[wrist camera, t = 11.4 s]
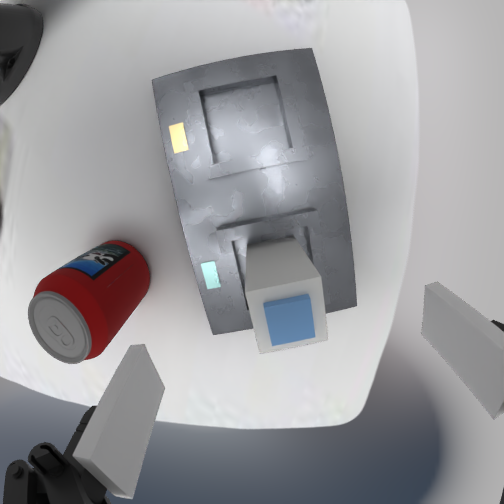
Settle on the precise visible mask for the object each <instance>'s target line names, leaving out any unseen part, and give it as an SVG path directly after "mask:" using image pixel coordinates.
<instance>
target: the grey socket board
mask: <svg viewBox="0 0 504 504" xmlns="http://www.w3.org/2000/svg"><path fill="white" fill-rule="evenodd" d="M152 84H153V90H154V96H155V102H156V107H157V113H158V118H159V124H160V129H161V134H162V139H163V144H164V149H165V154H166V159H167V163H168V168H169V173H170V177H171V182H172V186H173V190H174V195H175V199H176V203H177V207H178V211H179V216H180V220H181V224H182V228H183V232H184V235H185V239H186V243H187V247H188V251H189V254H190V258H191V262H192V266H193V269H194V273H195V276H196V280H197V283H198V287H199V290H200V294H201V297H202V301H203V304H204V307H205V311H206V314H207V317H208V321H209V324H210V327H211V330H212V333H213V335H217V334H223V333H229V332H235V331H241V330H247V329H253V324H252V320H251V315H250V311H249V307H248V303H247V299H246V294H245V276H246V249H247V244H252V243H257V242H262V241H267V240H272V239H277V238H282V237H287V236H292V235H294V237H295V238H296V240H297V241H298V243H299V244H300V246H301V247H302V249H303V250H304V251H305V253H306V254H307V256H308V257H309V259H310V260H311V262H312V263H313V265H314V266H315V268H316V269H317V271H318V273H319V274H320V276H321V279H322V287H323V295H324V304H325V313H330V312H334V311H338V310H343V309H347V308H351V307H355V306H357V299H356V284H355V272H354V261H353V252H352V242H351V234H350V226H349V218H348V211H347V204H346V197H345V191H344V185H343V179H342V173H341V167H340V162H339V157H338V151H337V146H336V141H335V137H334V132H333V127H332V123H331V118H330V114H329V110H328V106H327V101H326V97H325V93H324V90H323V86H322V82H321V78H320V75H319V71H318V67H317V64H316V60H315V57H314V54H313V50H312V48H306V49H294V50H285V51H276V52H269V53H262V54H255V55H249V56H243V57H238V58H233V59H228V60H223V61H218V62H214V63H210V64H206V65H201V66H197V67H194V68H190V69H186V70H183V71H179V72H176V73H172V74H169V75H166V76H163V77H160V78H156V79H153V80H152Z"/></svg>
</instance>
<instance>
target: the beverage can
mask: <svg viewBox="0 0 504 504" xmlns="http://www.w3.org/2000/svg"><path fill="white" fill-rule="evenodd" d="M149 283H150V274H149V269H148V266H147V264H146V262H145V260H144V258H143V257H142V255H141V254H140V253H139V252H138V251H137V250H136V249H135V248H134V247H132V246H131V245H129V244H127V243H125V242H122V241H108V242H105V243H103V244H101V245H99V246H97V247H95V248H93V249H92V250H90V251H88V252H86V253H84V254H82V255H81V256H79V257H77V258H75V259H74V260H72V261H70V262H69V263H67V264H65V265H64V266H62V267H60V268H59V269H57V270H56V271H54V272H52V273H51V274H49V275H48V276H46V277H45V278H43V279H42V280H41V281H40V282H39V284H38V286H37V288H36V290H35V293H34V296H33V299H32V300H31V302H30V304H29V308H28V319H29V324H30V327H31V330H32V332H33V334H34V336H35V338H36V339H37V341H38V342H39V344H40V345H41V346H42V347H43V349H44V350H45V351H46V352H48V353H49V354H50V355H51V356H53V357H54V358H56V359H57V360H59V361H62V362H64V363H68V364H77V363H80V362H82V361H83V360H88V359H92V358H95V357H97V356H99V355H100V354H101V353H102V352H103V351H104V350H105V348H106V347H107V346H108V344H109V343H110V342H111V340H112V339H113V338H114V336H115V335H116V334H117V332H118V331H119V330H120V328H121V327H122V326H123V324H124V323H125V322H126V320H127V319H128V318H129V316H130V315H131V314H132V312H133V311H134V310H135V308H136V307H137V306H138V304H139V303H140V302H141V300H142V299H143V298H144V296H145V295H146V293H147V291H148V288H149Z"/></svg>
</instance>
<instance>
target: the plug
mask: <svg viewBox="0 0 504 504" xmlns="http://www.w3.org/2000/svg"><path fill="white" fill-rule="evenodd" d="M245 294H246V299H247V303H248V307H249V311H250V315H251V320H252V324H253V328H254V332H255V336H256V340H257V344H258V348H259V352H260V354H263V353H268V352H274V351H279V350H284V349H289V348H294V347H299V346H304V345H308V344H313V343H317V342H322V341H326V340H328V332H327V322H326V313H325V304H324V295H323V287H322V279H321V276H320V274H319V273H318V271H317V269H316V268H315V266H314V265H313V263H312V262H311V260H310V259H309V257H308V256H307V254H306V253H305V251H304V250H303V249H302V247H301V246H300V244H299V243H298V241H297V240H296V238H295V237H294V235H292V236H287V237H282V238H277V239H272V240H267V241H262V242H257V243H252V244H247V249H246V276H245Z"/></svg>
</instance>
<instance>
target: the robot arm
mask: <svg viewBox="0 0 504 504" xmlns="http://www.w3.org/2000/svg"><path fill="white" fill-rule="evenodd" d="M42 29H43V20H42V16H41V14H40V13H39V12H38V11H37V10H35V9H34V8H32V7H30V6H29V5H25V4H17V5H11V4H1V3H0V104H2V103H3V102H4V101H5V100H6V99H7V98H8V97H9V96H10V94H11V93H12V92H13V91H14V90H15V88H16V87H17V85H18V84H19V83H20V81H21V80H22V78H23V76H24V75H25V73H26V71H27V70H28V68H29V66H30V64H31V62H32V60H33V58H34V56H35V53H36V51H37V48H38V45H39V42H40V39H41V35H42ZM421 334H422V335H423V336H424V338H425V339H426V340H427V341H428V342H429V343H430V344H431V345H432V346H433V347H434V348H435V350H436V351H437V352H438V353H439V354H440V355H441V357H442V358H443V359H444V360H445V361H446V362H447V363H448V365H449V366H450V367H451V368H452V369H453V370H454V371H455V373H456V374H457V375H458V376H459V377H460V379H461V380H462V381H463V382H464V383H465V384H466V386H467V387H468V388H469V389H470V391H471V392H472V393H473V394H474V396H475V397H476V398H477V399H478V400H479V402H480V403H481V404H482V406H483V407H484V408H485V409H486V411H487V412H488V413H489V414H490V416H491V417H492V418H493V419H494V420H495V419H496V418H497V417H499V416H500V415H502V414H503V413H504V324H502V323H500V322H497V321H495V320H492V321H489V320H488V319H487V318H485V317H484V316H483V315H482V314H481V313H479V312H478V311H477V310H475V309H474V308H473V307H471V306H470V305H469V304H467V303H466V302H465V301H463V300H462V299H461V298H459V297H458V296H457V295H455V294H454V293H452V292H451V291H450V290H448V289H447V288H446V287H444V286H443V285H441V284H440V283H439V282H435V283H431V284H429V285H425V295H424V311H423V322H422V332H421ZM164 390H165V387H164V385H163V383H162V381H161V379H160V377H159V374H158V372H157V370H156V368H155V366H154V364H153V362H152V360H151V358H150V355H149V353H148V351H147V349H146V347H145V344H140V345H131V346H130V347H129V349H128V350H127V352H126V354H125V356H124V357H123V359H122V361H121V363H120V365H119V366H118V368H117V370H116V372H115V374H114V375H113V377H112V379H111V381H110V383H109V385H108V386H107V388H106V390H105V392H104V394H103V396H102V398H101V400H100V401H99V403H98V405H97V406H92V407H91V408H90V409H89V410H88V411H87V412H86V413H85V414H84V416H83V418H82V419H81V421H80V424H79V426H78V427H77V429H76V432H75V433H74V435H73V436H72V439H71V440H70V442H69V444H68V446H67V448H66V450H65V452H64V454H63V455H62V454H61V453H60V452H59V451H58V450H57V449H56V447H55V446H54V445H52V444H51V443H46V442H44V443H40V444H38V445H36V446H35V447H34V448H33V449H32V450H31V452H30V454H29V456H28V462H29V463H30V464H31V465H32V466H33V467H34V468H31V467H30V466H29V465H28V464H27V463H26V462H25V461H23V460H16V461H14V462H12V463H11V464H10V465H9V466H8V468H7V471H6V476H5V485H4V496H3V497H4V498H3V504H111V502H110V500H109V499H108V498H107V496H105V493H106V491H107V489H108V490H109V491H110V492H111V493H112V494H113V495H115V496H117V497H123V498H128V499H133V496H134V492H135V488H136V484H137V481H138V477H139V474H140V470H141V466H142V463H143V459H144V456H145V452H146V448H147V445H148V442H149V438H150V435H151V432H152V428H153V425H154V422H155V419H156V415H157V412H158V409H159V406H160V403H161V399H162V396H163V393H164ZM500 504H504V489H503V493H502V497H501V501H500Z"/></svg>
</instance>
